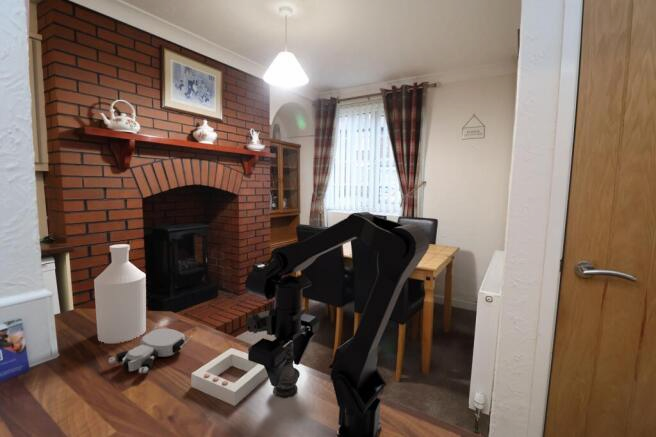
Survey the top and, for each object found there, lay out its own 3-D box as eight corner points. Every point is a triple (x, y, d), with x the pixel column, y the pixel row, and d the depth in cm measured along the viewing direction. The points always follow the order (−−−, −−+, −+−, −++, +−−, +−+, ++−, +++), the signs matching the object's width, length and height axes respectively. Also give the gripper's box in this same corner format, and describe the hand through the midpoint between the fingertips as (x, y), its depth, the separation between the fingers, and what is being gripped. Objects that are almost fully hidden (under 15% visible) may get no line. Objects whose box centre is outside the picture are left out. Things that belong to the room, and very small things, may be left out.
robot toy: (145, 385, 69) (195, 347, 83) (143, 367, 68) (194, 332, 82) (105, 372, 73) (159, 338, 87) (102, 354, 72) (157, 323, 86)
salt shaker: (273, 400, 64) (274, 345, 63) (270, 382, 70) (271, 331, 69) (301, 396, 66) (303, 342, 64) (296, 379, 72) (298, 329, 70)
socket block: (270, 373, 73) (271, 360, 73) (234, 405, 62) (234, 390, 62) (231, 359, 78) (231, 347, 78) (191, 386, 67) (191, 372, 67)
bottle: (91, 332, 88) (87, 244, 85) (139, 320, 97) (136, 240, 94) (102, 348, 80) (98, 252, 77) (153, 333, 89) (151, 246, 86)
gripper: (281, 285, 77) (279, 345, 79) (226, 311, 61) (225, 387, 63) (321, 293, 73) (318, 357, 75) (274, 325, 56) (272, 406, 58)
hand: (285, 374), depth 67 cm, fingers closed on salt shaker, 8 cm apart
